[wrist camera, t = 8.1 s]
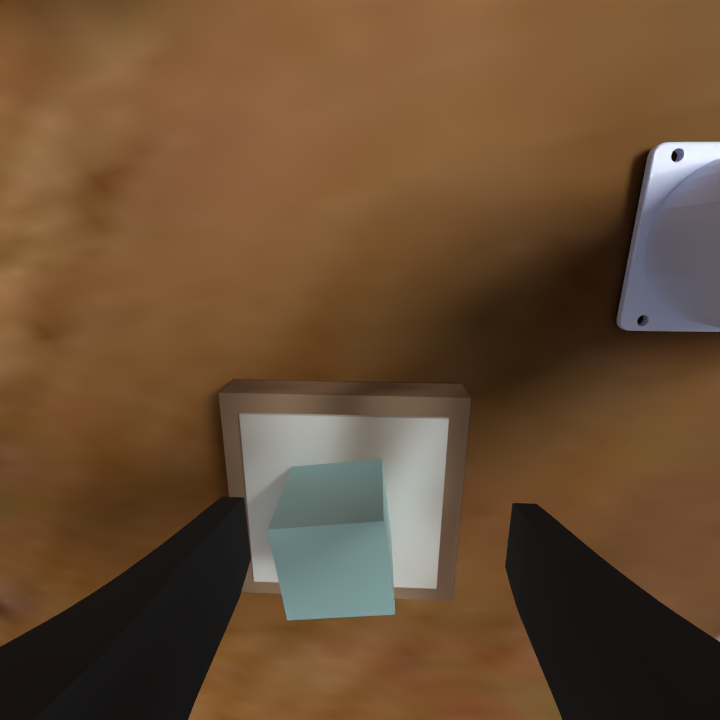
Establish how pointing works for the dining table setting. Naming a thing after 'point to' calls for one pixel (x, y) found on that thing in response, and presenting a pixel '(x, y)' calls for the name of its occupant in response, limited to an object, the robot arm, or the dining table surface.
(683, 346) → the dining table surface
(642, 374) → the dining table surface
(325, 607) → the teal cube
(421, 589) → the brown white flat square
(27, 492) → the dining table surface
